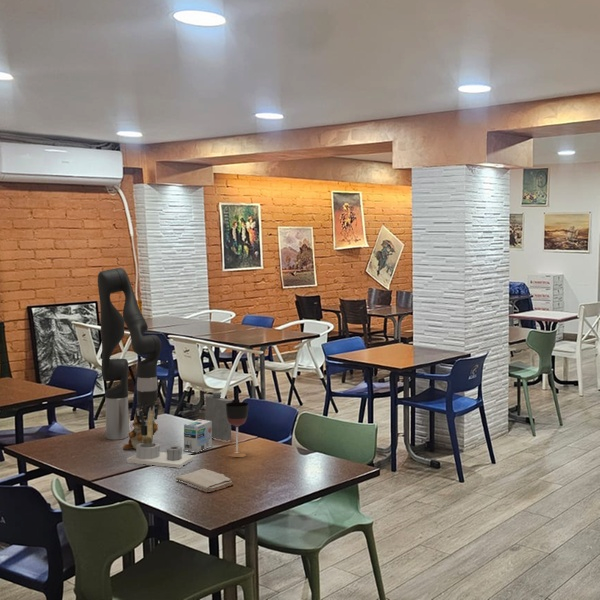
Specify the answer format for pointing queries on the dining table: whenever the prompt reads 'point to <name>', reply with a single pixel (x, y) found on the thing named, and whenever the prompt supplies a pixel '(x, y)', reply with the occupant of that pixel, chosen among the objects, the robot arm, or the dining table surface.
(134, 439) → the stuffed squirrel
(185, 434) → the light bulb box
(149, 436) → the brass cylinder
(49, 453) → the dining table surface
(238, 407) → the wineglass
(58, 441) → the dining table surface
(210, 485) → the washcloth
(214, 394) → the grey upright flat block
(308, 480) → the dining table surface
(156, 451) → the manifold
